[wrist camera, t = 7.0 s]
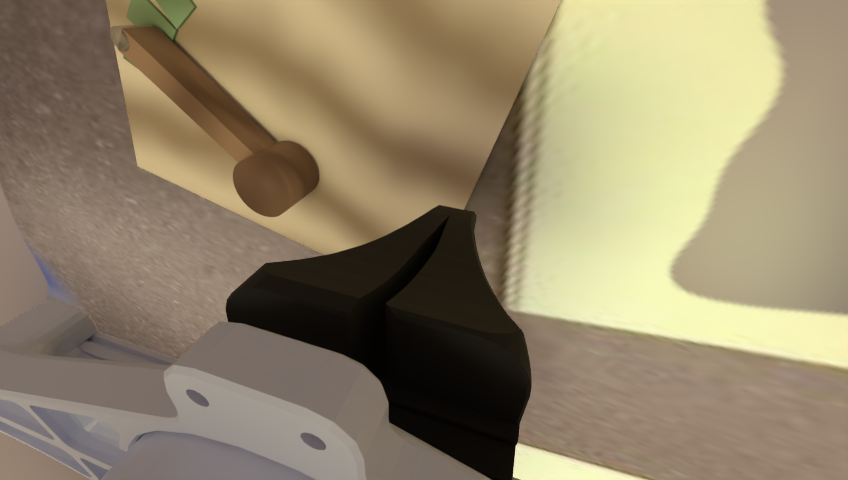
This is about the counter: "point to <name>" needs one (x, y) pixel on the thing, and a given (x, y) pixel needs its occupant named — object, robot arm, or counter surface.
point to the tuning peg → (222, 123)
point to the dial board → (341, 100)
